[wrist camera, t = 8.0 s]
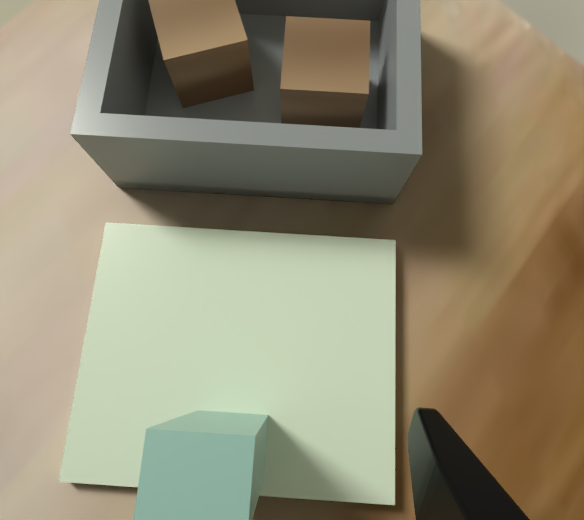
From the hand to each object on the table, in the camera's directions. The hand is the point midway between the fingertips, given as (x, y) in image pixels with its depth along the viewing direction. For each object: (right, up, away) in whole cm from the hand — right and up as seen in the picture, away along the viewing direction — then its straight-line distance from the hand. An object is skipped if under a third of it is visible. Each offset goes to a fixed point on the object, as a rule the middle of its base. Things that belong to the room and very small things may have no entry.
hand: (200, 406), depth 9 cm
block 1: (-1, +11, +10) cm, 15 cm away
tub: (+1, +10, +9) cm, 14 cm away
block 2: (+3, +9, +9) cm, 14 cm away
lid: (0, 0, +7) cm, 7 cm away
